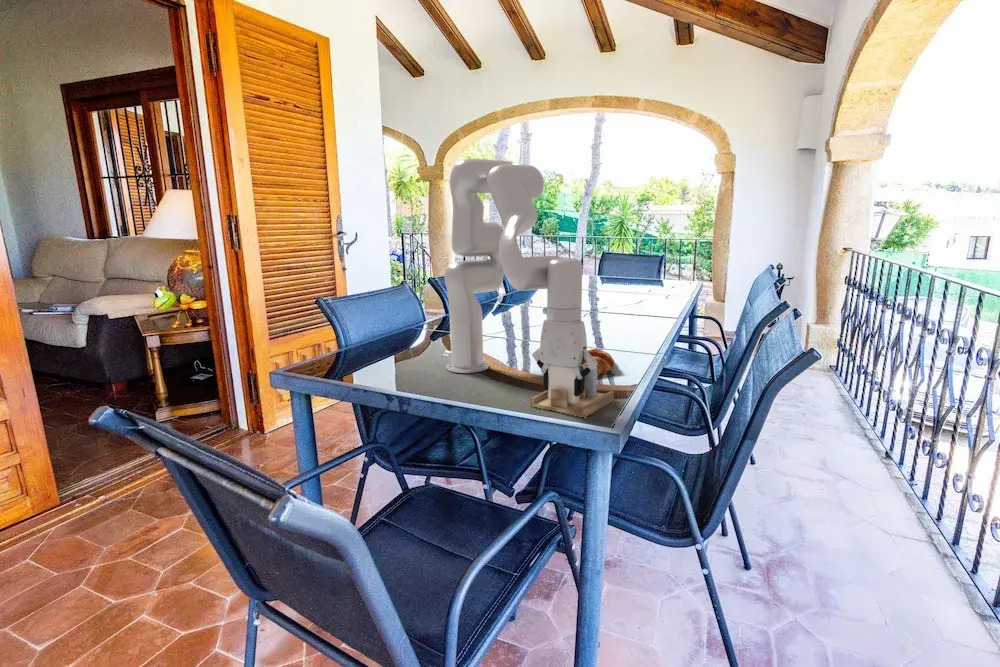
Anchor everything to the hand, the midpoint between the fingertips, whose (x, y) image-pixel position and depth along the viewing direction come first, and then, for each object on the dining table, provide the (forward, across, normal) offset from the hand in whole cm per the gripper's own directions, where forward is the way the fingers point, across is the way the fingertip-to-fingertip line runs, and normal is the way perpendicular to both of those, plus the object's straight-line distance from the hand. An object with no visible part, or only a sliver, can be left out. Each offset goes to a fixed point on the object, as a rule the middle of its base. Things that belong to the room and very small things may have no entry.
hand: (563, 391), depth 119 cm
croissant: (+5, -8, +34) cm, 35 cm away
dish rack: (+4, 0, +4) cm, 6 cm away
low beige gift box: (+2, 0, 0) cm, 2 cm away
